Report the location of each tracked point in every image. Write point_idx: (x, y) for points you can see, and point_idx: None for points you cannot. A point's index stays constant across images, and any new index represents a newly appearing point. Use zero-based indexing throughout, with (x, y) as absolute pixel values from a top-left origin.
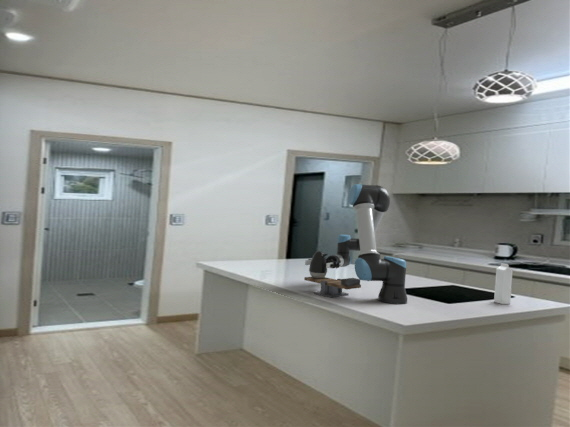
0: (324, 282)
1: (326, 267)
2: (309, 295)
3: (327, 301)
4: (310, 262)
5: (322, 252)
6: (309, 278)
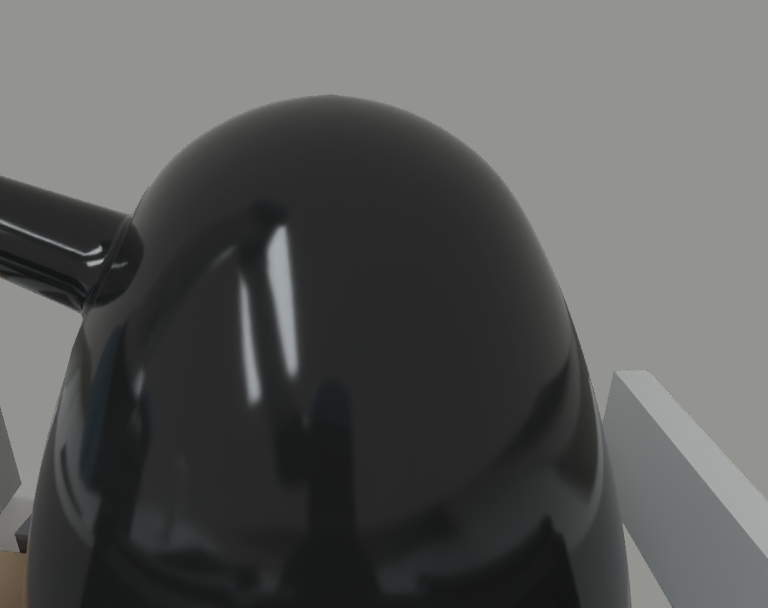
0: None
1: (5, 472)
2: None
3: None
4: (709, 588)
5: (175, 159)
6: None
